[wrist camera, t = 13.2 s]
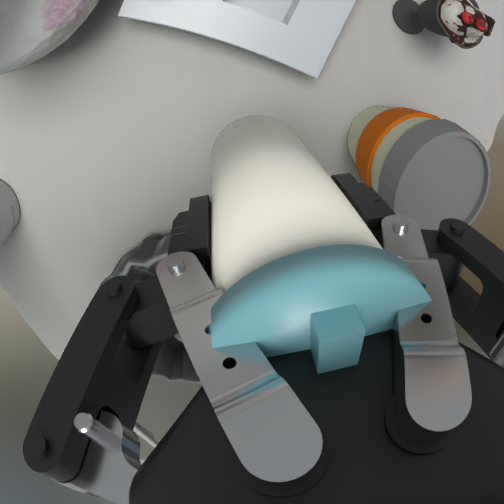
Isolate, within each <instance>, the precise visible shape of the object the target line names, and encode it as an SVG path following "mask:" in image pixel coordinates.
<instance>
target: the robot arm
mask: <svg viewBox="0 0 504 504" xmlns="http://www.w3.org/2000/svg"><path fill="white" fill-rule="evenodd" d="M331 178H332V180H333V181H334V182H335V184H336V185H337V186H338V188H339V189H340V190H341V191H342V193H343V194H344V195H345V197H346V198H347V199H348V201H349V202H350V203H351V205H352V206H353V207H354V209H355V210H356V212H357V213H358V214H359V216H360V217H361V218H362V220H363V221H364V223H365V224H366V225H367V227H368V228H369V230H370V231H371V232H372V234H373V235H374V237H375V238H376V240H377V241H378V243H379V244H380V246H381V247H382V248H383V249H384V250H386V251H388V252H390V253H393V254H395V255H396V256H398V257H399V258H401V259H402V260H403V261H405V262H406V264H407V265H408V266H409V267H410V268H411V269H412V271H413V272H414V274H415V275H416V276H417V278H418V279H419V281H420V282H421V284H422V285H423V287H424V289H425V290H426V292H427V293H428V295H429V296H430V298H431V299H432V301H428V302H425V303H421V304H418V305H415V306H411V307H407V308H404V309H400V310H397V313H396V317H395V320H394V323H393V329H390V330H386V331H382V332H379V333H375V334H371V335H368V336H364V340H363V344H362V349H361V353H360V357H359V361H358V364H357V365H353V366H349V367H345V368H341V369H337V370H333V371H329V372H325V373H320V374H317V371H316V367H315V364H314V360H313V356H312V353H311V349H308V350H303V351H298V352H293V353H288V354H282V355H277V356H272V357H265V355H264V354H263V353H262V351H261V350H260V348H259V347H258V345H257V344H256V342H249V343H243V344H237V345H230V346H223V347H216V348H212V334H207V333H208V330H209V327H210V325H211V308H212V306H213V305H214V304H215V303H216V301H217V300H218V299H219V297H220V296H221V295H223V294H224V293H223V292H222V290H221V289H220V288H218V289H216V288H215V287H214V285H213V284H212V269H211V202H210V198H209V195H205V196H200V197H195V198H191V199H190V205H189V211H186V212H181V213H179V214H178V216H177V217H176V218H175V219H174V221H173V226H172V232H171V238H170V243H169V249H168V255H167V256H166V257H164V258H163V259H162V260H161V261H160V262H159V263H158V265H157V267H156V274H155V275H154V276H152V277H150V278H148V279H145V280H143V281H141V282H138V283H136V284H135V283H134V281H133V280H132V278H130V277H129V276H125V275H120V276H115V277H113V278H110V279H109V280H107V281H106V282H104V283H103V284H102V285H101V286H100V287H99V289H98V290H97V292H96V294H95V295H94V297H93V299H92V301H91V302H90V304H89V306H88V308H87V309H86V311H85V313H84V315H83V316H82V318H81V320H80V322H79V324H78V326H77V327H76V329H75V331H74V333H73V335H72V337H71V339H70V341H69V342H68V344H67V346H66V348H65V350H64V352H63V354H62V356H61V358H60V360H59V362H58V364H57V366H56V368H55V370H54V372H53V374H52V377H51V379H50V381H49V383H48V385H47V387H46V389H45V392H44V394H43V396H42V399H41V401H40V403H39V405H38V408H37V410H36V413H35V415H34V417H33V419H32V422H31V424H30V427H29V429H28V432H27V434H26V437H25V440H24V444H23V454H24V458H25V461H26V463H27V464H28V466H29V467H30V468H31V469H33V470H34V471H36V472H38V473H40V474H42V475H44V476H47V477H49V478H51V479H52V480H53V481H55V482H57V483H59V484H62V485H64V486H66V487H69V488H71V489H74V490H77V491H79V492H85V493H88V494H91V495H93V496H97V497H102V498H105V499H107V500H110V501H112V502H115V503H118V504H504V252H503V251H502V250H501V249H499V248H498V247H497V246H496V245H494V244H493V243H492V242H491V241H489V240H488V239H487V238H485V237H484V236H483V235H482V234H480V233H479V232H478V231H476V230H475V229H474V228H472V227H471V226H470V225H468V224H467V223H465V222H463V221H461V220H459V219H455V218H446V219H443V220H442V221H441V222H440V225H439V229H438V230H425V229H420V227H419V225H418V223H417V222H416V221H415V220H413V219H412V218H410V217H407V216H404V215H396V214H395V213H394V211H393V210H392V209H391V208H390V207H389V206H388V205H387V203H386V202H385V201H383V199H382V198H381V197H380V196H379V195H378V193H377V192H376V191H375V190H374V189H373V188H372V187H370V186H368V185H366V184H364V183H358V182H357V181H356V180H355V178H354V177H353V176H352V175H351V174H350V173H346V174H338V175H332V176H331ZM19 218H20V208H19V204H18V200H17V198H16V196H15V194H14V192H13V191H12V189H11V188H10V187H9V186H8V185H7V184H6V183H5V182H3V181H2V180H0V246H1V245H2V244H3V242H4V241H5V240H6V238H7V237H8V236H9V234H10V233H11V232H12V231H13V229H14V228H15V227H16V225H17V223H18V221H19ZM464 265H465V266H466V267H467V268H468V269H469V270H470V271H472V272H473V273H474V274H475V275H476V276H477V277H478V278H479V279H480V280H481V282H482V285H483V291H482V294H481V296H480V295H479V294H478V293H477V292H476V291H475V290H474V289H473V288H472V287H471V286H470V285H469V284H468V283H466V281H464V280H463V279H462V278H461V277H460V275H461V273H462V270H463V267H464ZM453 318H454V319H455V320H456V321H457V322H458V323H459V324H460V325H461V326H462V328H463V329H464V330H465V331H466V332H467V333H468V334H469V335H470V336H471V337H472V338H473V340H474V341H475V342H476V343H477V344H478V345H479V346H480V347H481V349H482V350H483V351H484V352H485V353H486V354H487V355H488V357H489V358H490V359H488V358H486V357H484V356H483V355H481V354H479V353H477V352H475V351H474V350H472V349H470V348H468V347H467V346H465V345H463V344H461V343H459V342H458V341H457V337H456V331H455V326H454V322H453ZM178 333H179V334H180V336H181V339H182V341H183V343H184V346H185V348H186V350H187V353H188V355H189V357H190V359H191V362H192V364H193V366H194V368H195V370H196V373H197V375H198V377H199V379H200V381H201V383H202V387H201V388H200V389H199V391H198V392H197V394H196V395H195V396H194V397H193V399H192V400H191V402H190V403H189V404H188V405H187V407H186V408H185V410H184V411H183V412H182V414H181V415H180V416H179V418H178V419H177V420H176V422H175V423H174V424H173V425H172V427H171V428H170V429H169V431H168V432H167V433H166V434H165V436H164V437H163V438H162V440H161V441H160V442H159V444H158V445H157V446H156V447H155V449H154V450H153V451H152V453H151V454H150V455H149V456H148V458H147V459H146V460H145V461H144V463H143V464H142V465H141V463H140V441H139V438H138V436H137V435H136V433H135V432H134V431H133V429H134V425H135V422H136V419H137V416H138V413H139V410H140V406H141V403H142V400H143V397H144V394H145V391H146V388H147V385H148V382H149V379H150V376H151V373H152V371H153V368H154V365H155V362H156V359H157V356H158V353H159V350H160V348H161V345H162V341H163V339H166V338H168V337H170V336H173V335H175V334H178ZM121 339H122V340H121ZM120 341H121V342H120ZM117 348H118V349H117Z"/></svg>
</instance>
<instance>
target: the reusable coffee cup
mask: <svg viewBox="0 0 504 504" xmlns="http://www.w3.org/2000/svg"><path fill="white" fill-rule="evenodd" d="M347 145H348V150H349V153H350V156H351V157H352V159H353V160H354V162H355V163H356V167H357V170H358V173H359V176H360V178H361V179H362V181H363V182H364V184H366V185H368V186H370V187H372V188H373V189H374V190H375V191H376V192H377V193H378V195H379V196H380V197H381V198H382V199H383V201H385V202H386V203H387V205H388V206H389V207H390V208H391V209H392V210H393V211H394V213H395V214H396V215H404V216H407V217H410V218H412V219H413V220H415V221H416V222H417V223H418V225H419V227H420V229H425V230H438V229H439V225H440V222H441V221H442V220H443V219H446V218H455V219H459V220H461V221H463V222H465V223H467V224H468V225H471V223H472V222H473V221H474V219H475V218H476V217H477V215H478V214H479V212H480V210H481V209H482V206H483V205H484V202H485V200H486V198H487V195H488V191H489V187H490V179H491V169H490V168H491V167H490V161H489V157H488V155H487V152H486V150H485V148H484V146H483V145H482V144H481V143H480V141H479V140H478V139H476V138H475V137H474V136H472V135H471V134H470V133H468V132H467V131H466V130H464V129H463V128H461V127H460V126H459V125H457V124H456V123H454V122H451V121H448V120H446V119H440V118H438V117H437V116H434V115H431V114H428V113H424V112H420V111H416V110H412V109H408V108H389V107H384V106H375V107H370V108H368V109H366V110H364V111H363V112H361V113H360V114H359V115H358V116H357V117H356V118H355V119H354V121H353V122H352V124H351V126H350V128H349V131H348V136H347Z"/></svg>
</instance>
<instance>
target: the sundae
mask: <svg viewBox="0 0 504 504" xmlns="http://www.w3.org/2000/svg"><path fill="white" fill-rule="evenodd" d="M393 17H394V20H395V22H396V24H397V25H398V27H399V28H400V29H401V30H403V31H404V32H406V33H408V34H418V33H419V32H421V31H422V30H423V28H424V27H425V28H427V29H428V30H430V31H431V32H434V33H436V34H439V35H442V36H446V37H449V39H450V41H451V42H452V43H455V44H456V45H458V46H459V47H461V48H464V49H468V48H473V47H475V46H476V45H478V44H479V43H480V42H481V40H482V38H483V35H485V36H490V34H491V32H492V29H493V26H494V24H495V20H494V19H492V18H491V17H489V16H487V15H486V14H484V13H483V12H482V11H480V9H479V7H478V5H477V3H476V1H475V0H426V1H424V2H423V3H421V5H420V6H419V5H418V4H417V3H416V2H414V1H412V0H398V1H397V2H396V3H395V5H394V7H393Z"/></svg>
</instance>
